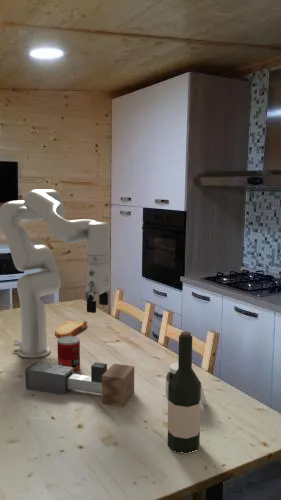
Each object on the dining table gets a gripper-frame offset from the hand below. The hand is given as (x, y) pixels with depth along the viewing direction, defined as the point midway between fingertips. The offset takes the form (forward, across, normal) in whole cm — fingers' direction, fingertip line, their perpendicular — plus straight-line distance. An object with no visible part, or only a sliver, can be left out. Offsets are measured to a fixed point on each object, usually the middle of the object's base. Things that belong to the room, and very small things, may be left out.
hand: (97, 308), depth 159 cm
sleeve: (+24, -14, +10) cm, 30 cm away
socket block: (+24, -13, -14) cm, 30 cm away
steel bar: (+23, -14, -3) cm, 26 cm away
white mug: (+23, -9, -35) cm, 43 cm away
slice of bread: (+26, +40, +31) cm, 57 cm away
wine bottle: (+23, -32, -39) cm, 55 cm away
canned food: (+25, +2, +12) cm, 28 cm away
